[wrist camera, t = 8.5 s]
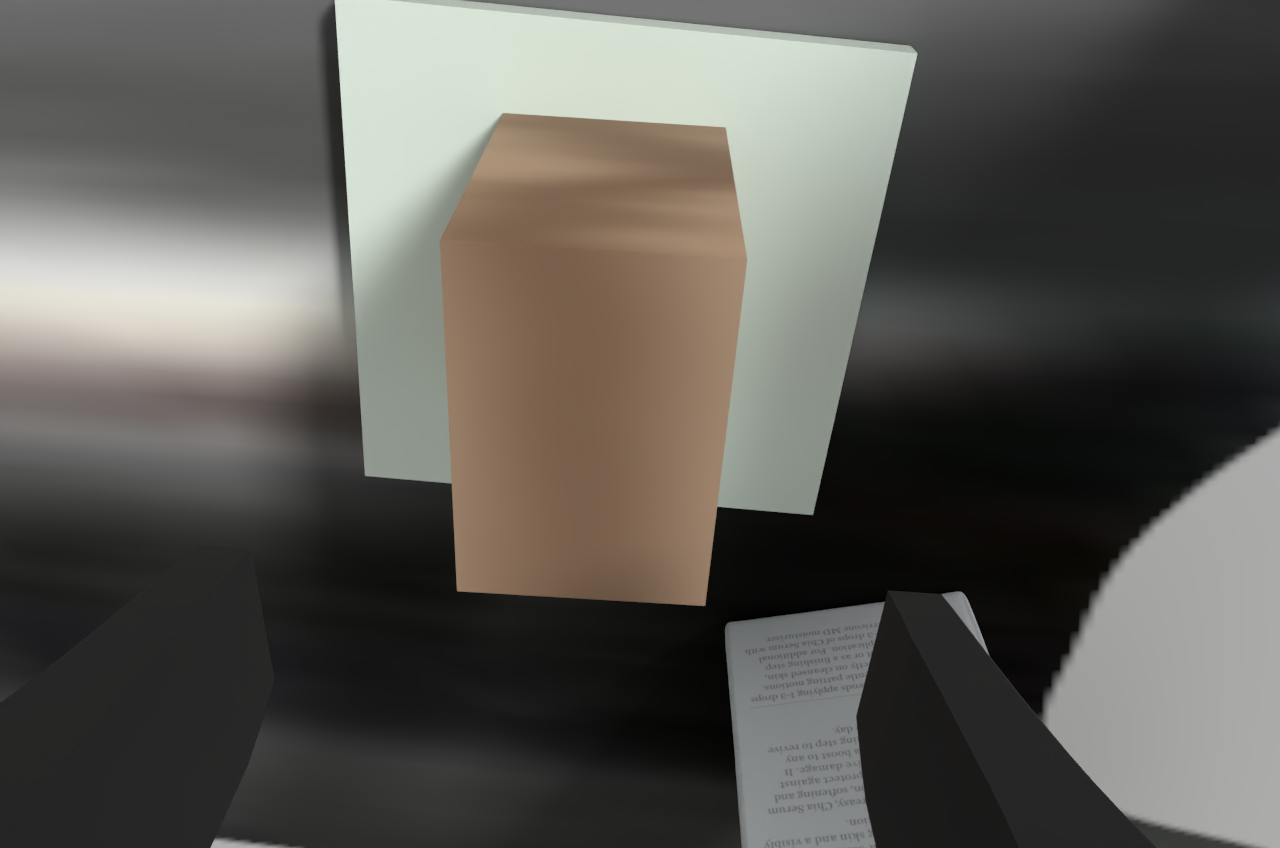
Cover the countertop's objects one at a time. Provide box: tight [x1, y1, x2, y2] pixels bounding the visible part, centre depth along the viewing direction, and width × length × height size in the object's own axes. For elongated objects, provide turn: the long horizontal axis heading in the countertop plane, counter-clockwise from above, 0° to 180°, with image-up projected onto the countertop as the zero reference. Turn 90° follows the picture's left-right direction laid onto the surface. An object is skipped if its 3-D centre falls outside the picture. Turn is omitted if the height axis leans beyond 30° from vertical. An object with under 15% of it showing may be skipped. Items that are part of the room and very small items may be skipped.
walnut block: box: [440, 113, 747, 606], centre depth 17 cm, size 4×6×6 cm, turn 177°
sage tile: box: [335, 0, 917, 515], centre depth 20 cm, size 10×10×1 cm
